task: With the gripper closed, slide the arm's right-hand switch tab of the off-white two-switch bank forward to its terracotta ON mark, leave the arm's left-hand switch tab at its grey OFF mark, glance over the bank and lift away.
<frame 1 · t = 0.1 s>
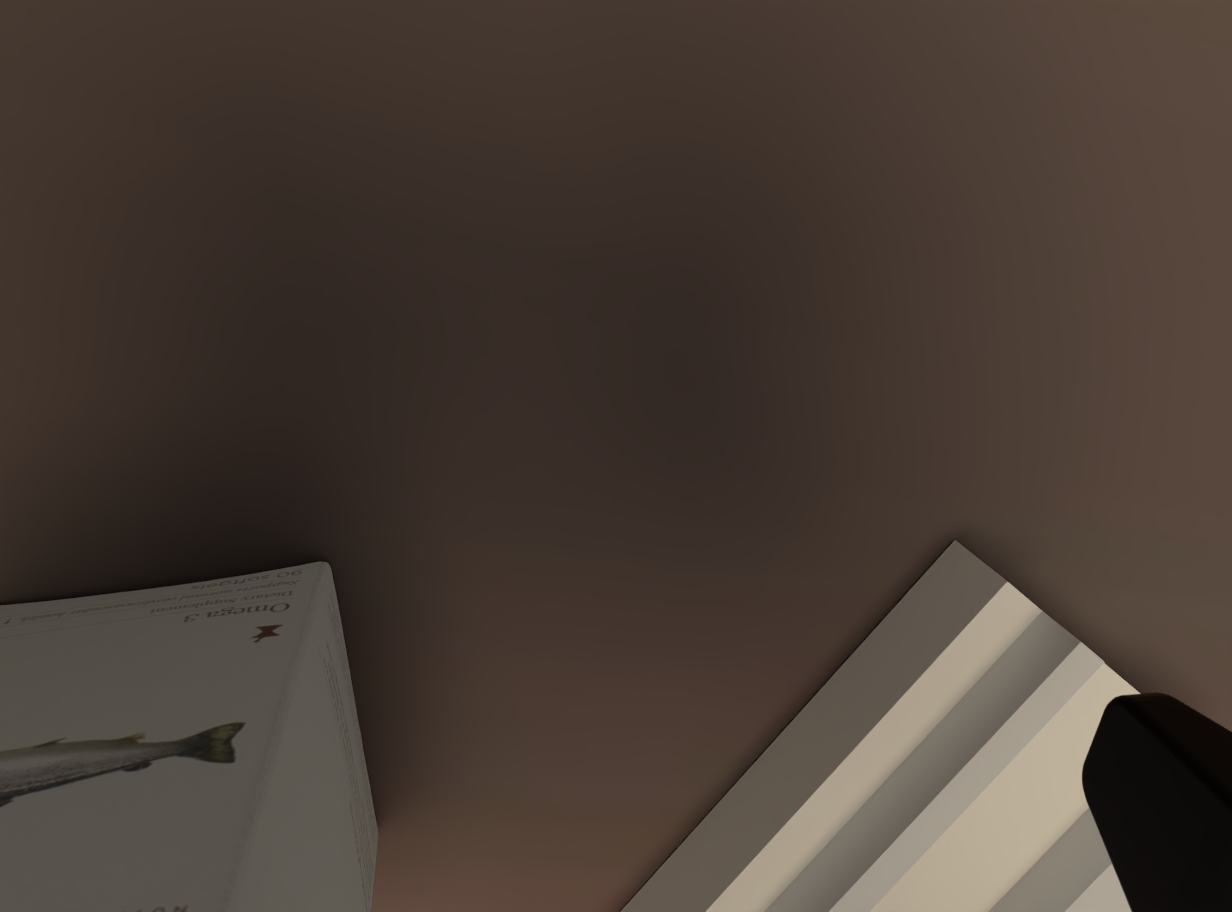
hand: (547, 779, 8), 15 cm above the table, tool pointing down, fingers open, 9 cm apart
supplement box: (195, 718, 24), on the table
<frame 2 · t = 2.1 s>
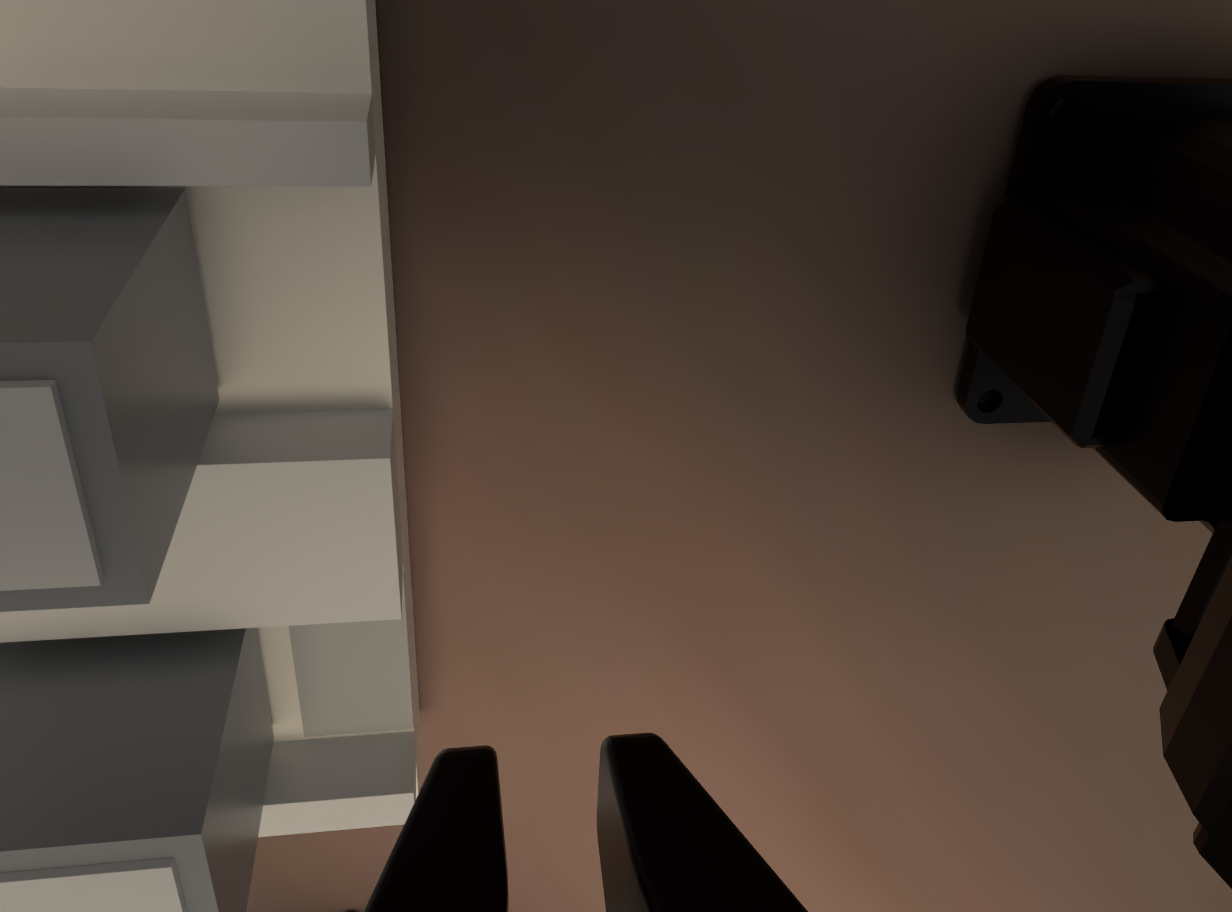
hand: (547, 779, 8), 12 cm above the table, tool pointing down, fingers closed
switch tab 2: (106, 792, 16), point 5 cm above the table, slide at 0.0 cm
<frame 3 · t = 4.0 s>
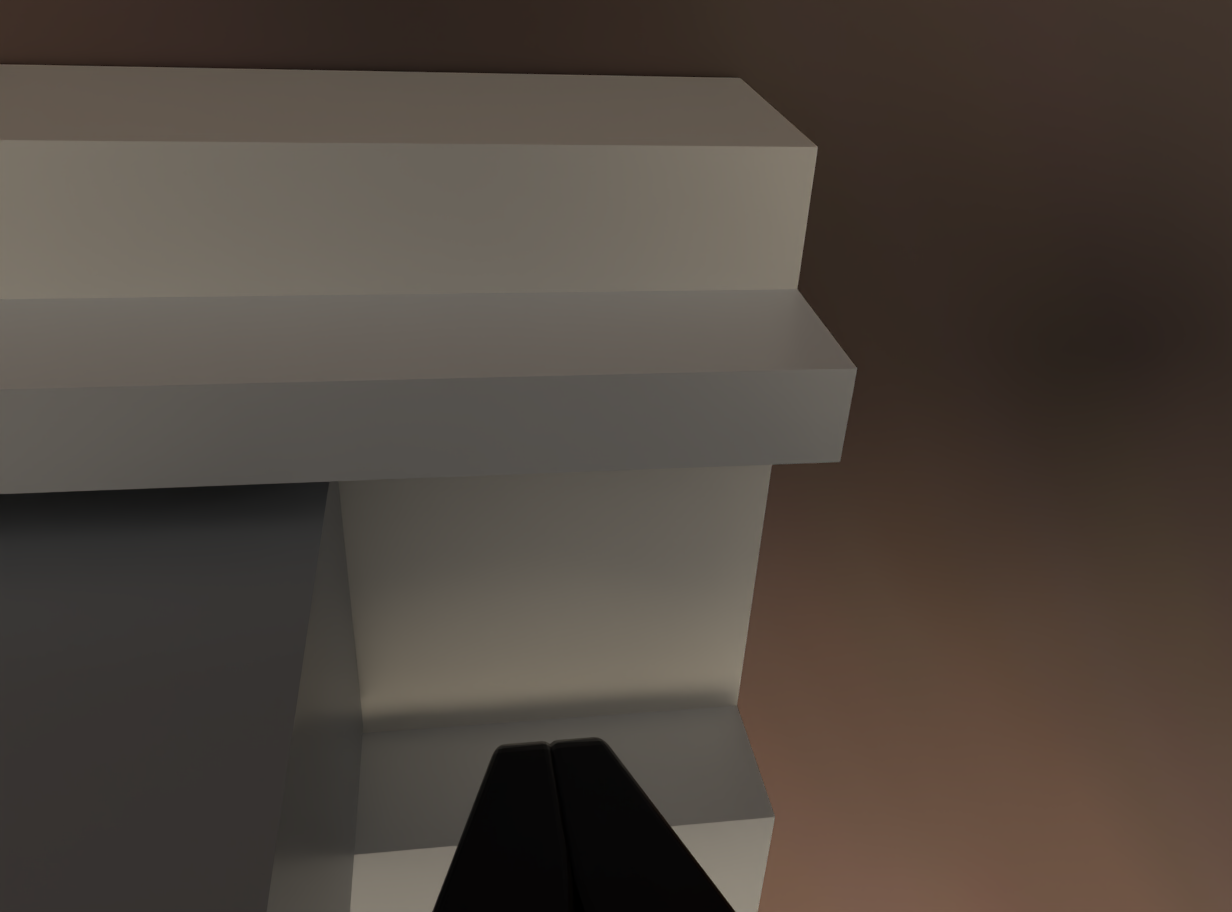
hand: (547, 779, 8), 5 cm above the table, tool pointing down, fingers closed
switch bank: (46, 696, 13), on the table
switch tab 1: (25, 842, 7), point 5 cm above the table, slide at 1.4 cm, touching gripper
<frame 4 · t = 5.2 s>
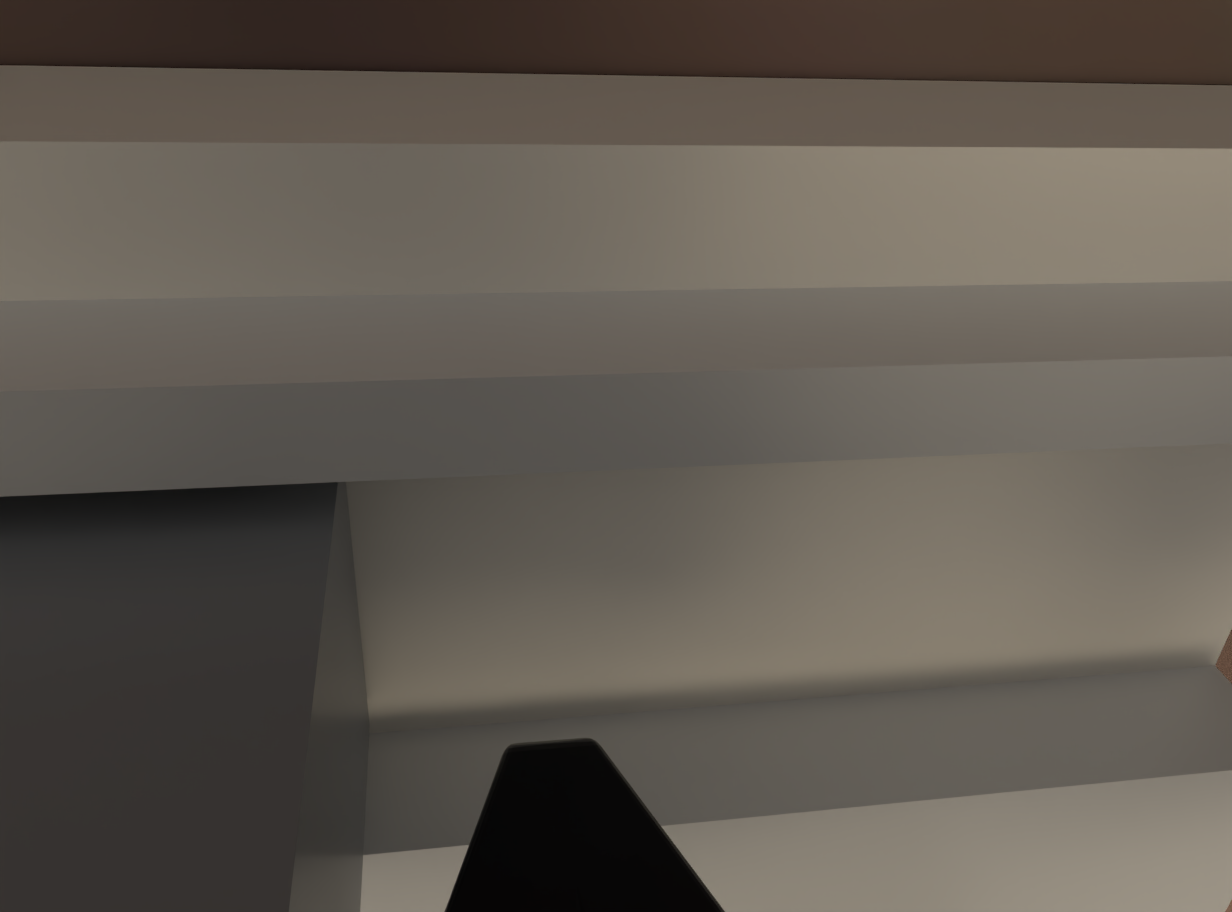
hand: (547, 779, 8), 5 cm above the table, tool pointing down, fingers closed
switch bank: (512, 665, 14), on the table
switch tab 1: (38, 844, 7), point 5 cm above the table, slide at 7.1 cm, touching gripper
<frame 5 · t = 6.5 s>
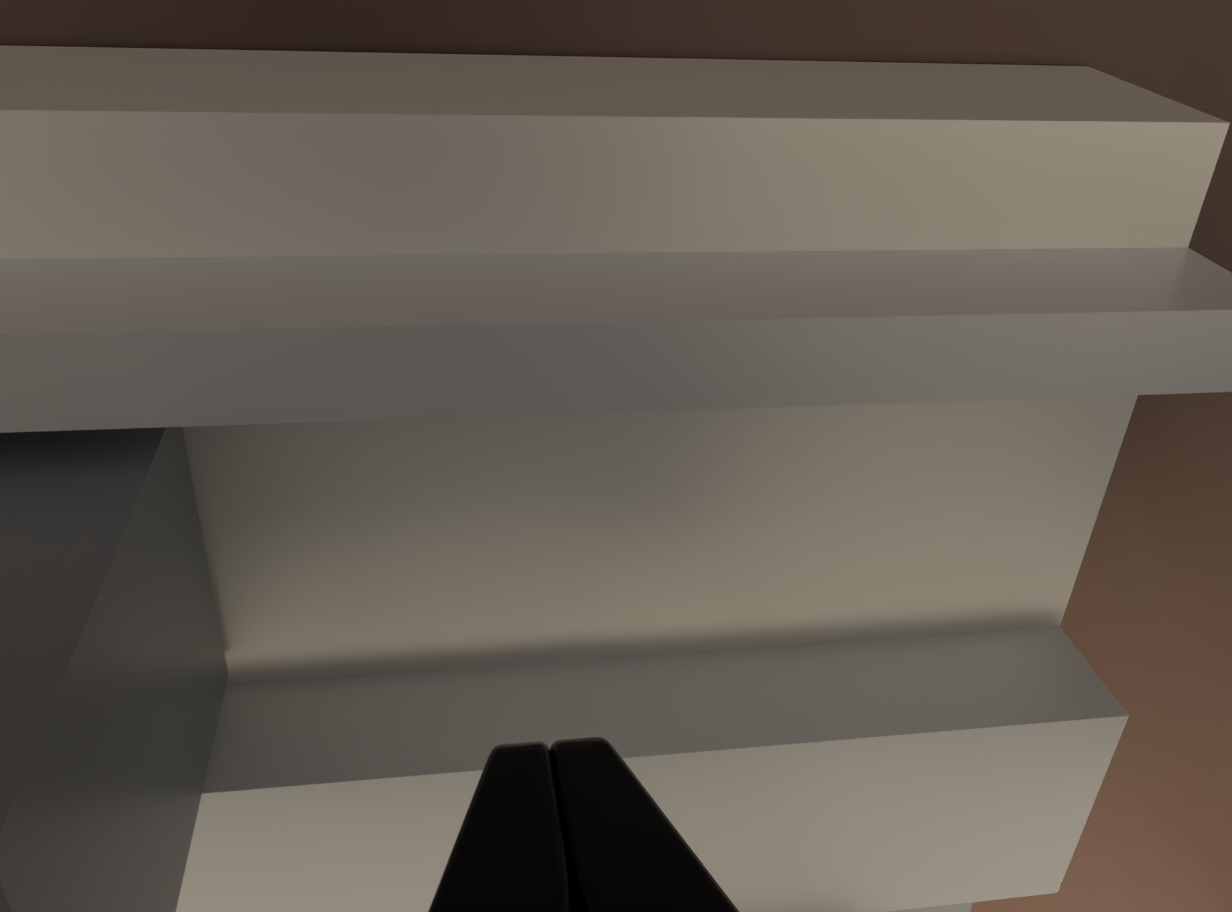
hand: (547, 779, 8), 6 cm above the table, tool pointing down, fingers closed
switch bank: (397, 629, 15), on the table
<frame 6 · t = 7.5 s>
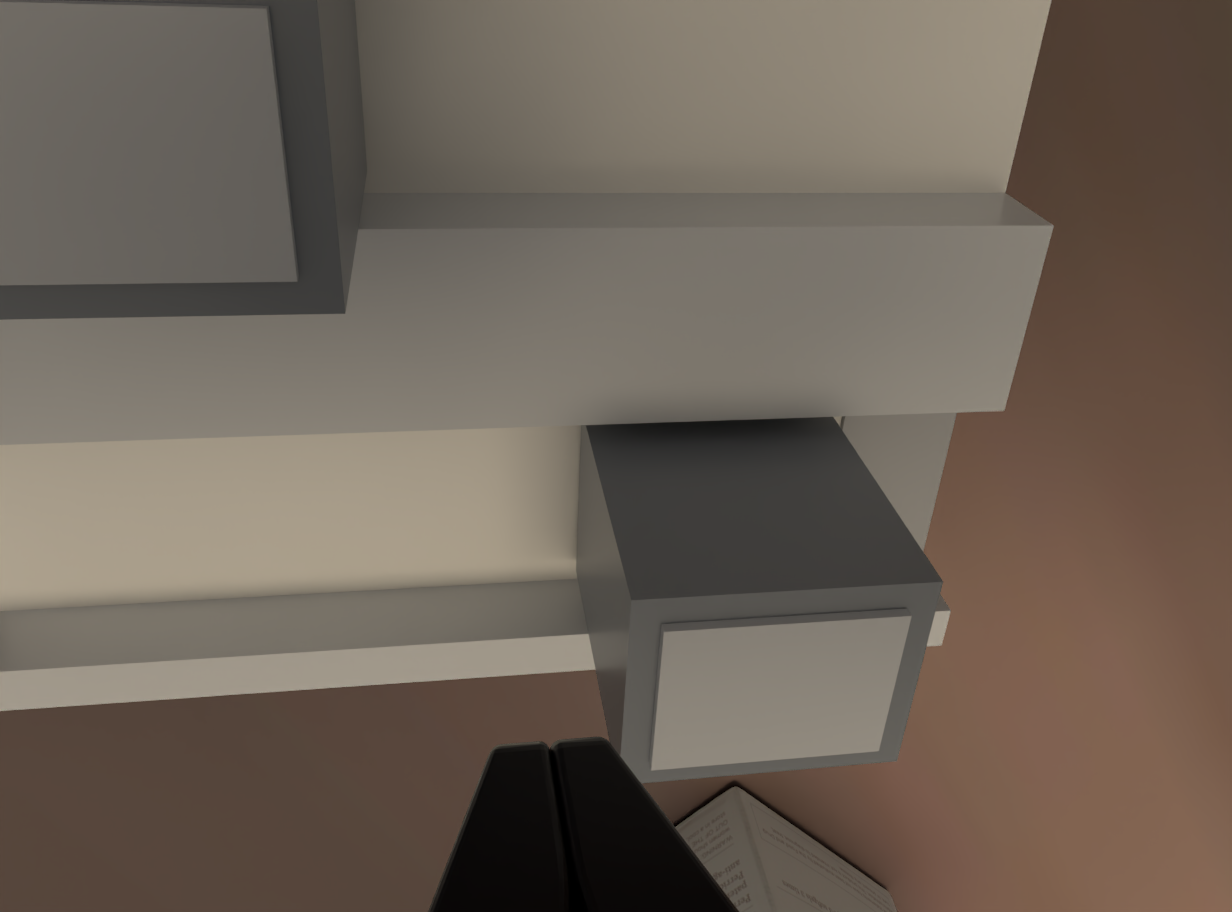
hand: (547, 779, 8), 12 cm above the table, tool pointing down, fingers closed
switch bank: (476, 234, 18), on the table
switch tab 1: (152, 88, 11), point 5 cm above the table, slide at 7.1 cm
supplement box: (712, 903, 29), on the table
switch tab 2: (731, 578, 16), point 5 cm above the table, slide at 0.0 cm
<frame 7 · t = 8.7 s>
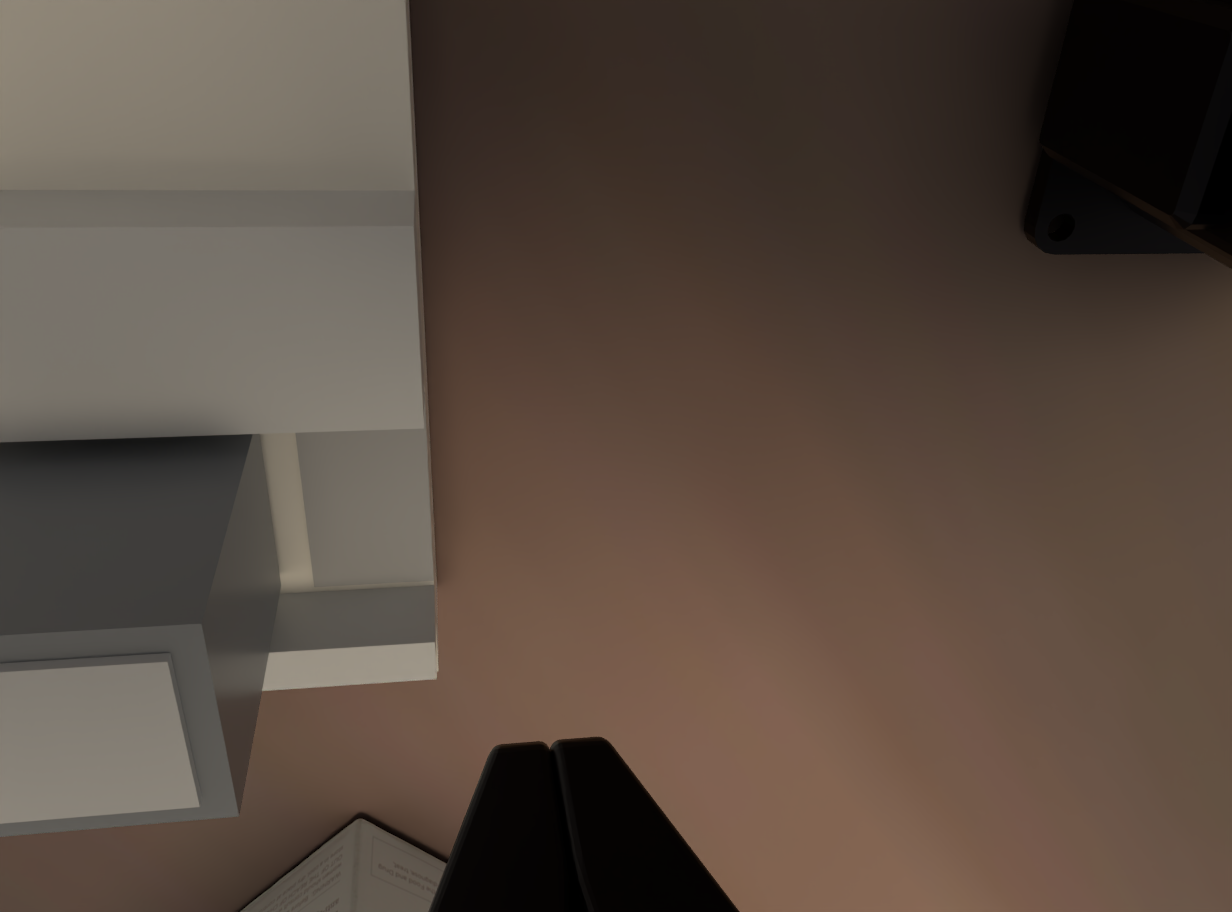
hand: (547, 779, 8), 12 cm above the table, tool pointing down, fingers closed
switch tab 2: (95, 613, 15), point 5 cm above the table, slide at 0.0 cm
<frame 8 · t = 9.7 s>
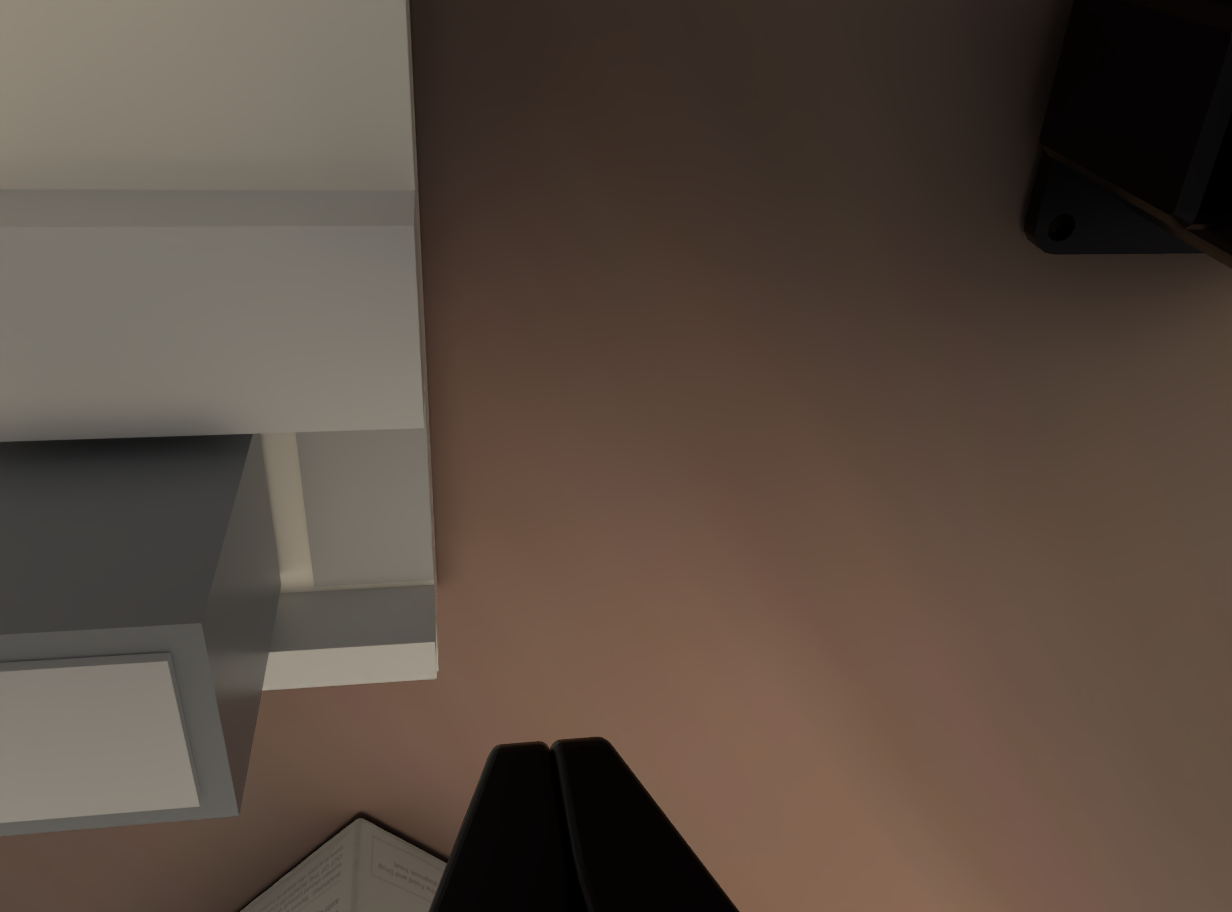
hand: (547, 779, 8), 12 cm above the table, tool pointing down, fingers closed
switch tab 2: (95, 612, 15), point 5 cm above the table, slide at 0.0 cm
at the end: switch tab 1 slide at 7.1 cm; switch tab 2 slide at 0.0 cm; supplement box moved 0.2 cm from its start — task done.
